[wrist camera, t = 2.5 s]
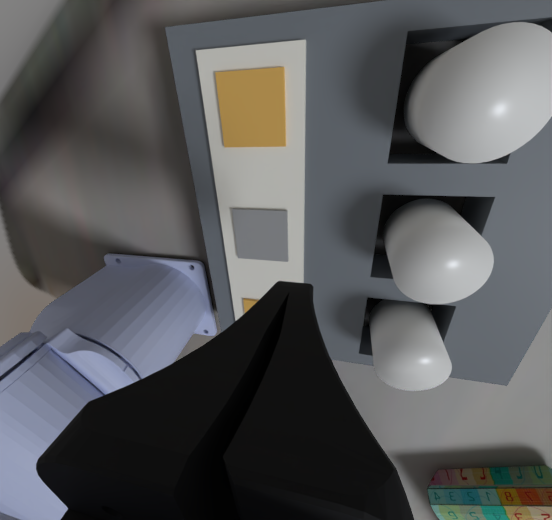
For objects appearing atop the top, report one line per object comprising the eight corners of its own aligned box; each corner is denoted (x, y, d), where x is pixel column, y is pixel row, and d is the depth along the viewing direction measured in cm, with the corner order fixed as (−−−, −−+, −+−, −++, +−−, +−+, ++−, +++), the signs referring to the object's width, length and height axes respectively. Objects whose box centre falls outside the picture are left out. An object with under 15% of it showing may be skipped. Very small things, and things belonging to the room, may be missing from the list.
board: (236, 318, 25) (221, 348, 22) (195, 40, 15) (158, 24, 12) (487, 350, 20) (510, 392, 18) (657, -10, 11) (776, -53, 8)
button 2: (396, 149, 14) (412, 163, 10) (412, 50, 12) (438, 29, 9) (486, 148, 13) (535, 163, 10) (519, 41, 11) (595, 14, 8)
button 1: (365, 337, 20) (369, 384, 17) (373, 293, 18) (378, 336, 15) (424, 344, 19) (441, 396, 16) (439, 299, 17) (461, 347, 14)
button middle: (378, 260, 17) (386, 299, 14) (388, 197, 15) (400, 224, 12) (449, 265, 16) (476, 308, 13) (470, 199, 14) (508, 229, 11)
